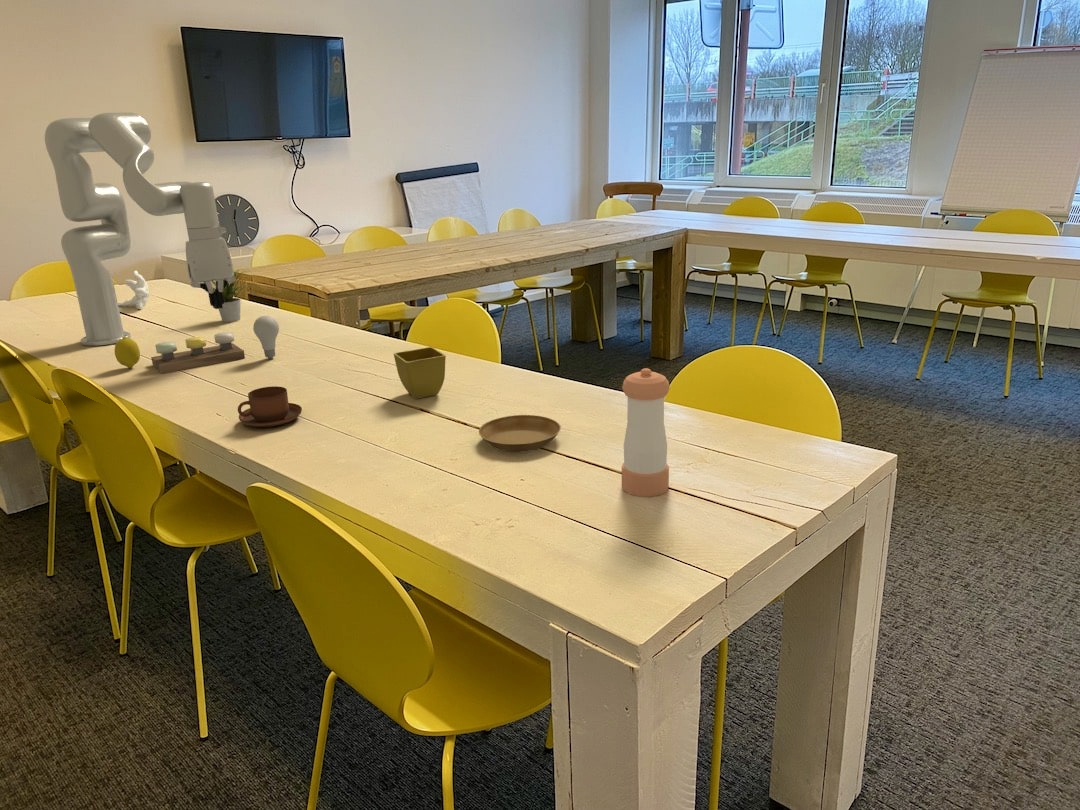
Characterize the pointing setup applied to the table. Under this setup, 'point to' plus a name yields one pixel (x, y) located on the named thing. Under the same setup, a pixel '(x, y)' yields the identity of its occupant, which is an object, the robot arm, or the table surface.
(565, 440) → the table surface
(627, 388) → the pepper shaker
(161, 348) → the sage button
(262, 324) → the lightbulb
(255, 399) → the cup and saucer
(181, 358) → the button board
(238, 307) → the house plant
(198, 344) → the yellow button
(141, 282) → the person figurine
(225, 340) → the grey button
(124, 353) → the lemon
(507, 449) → the plant saucer
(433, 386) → the flower pot
